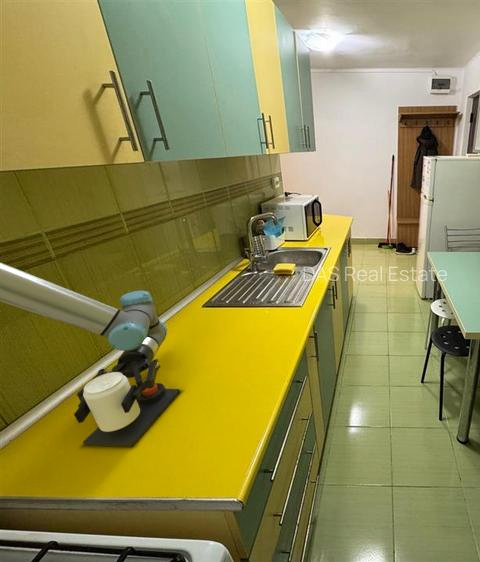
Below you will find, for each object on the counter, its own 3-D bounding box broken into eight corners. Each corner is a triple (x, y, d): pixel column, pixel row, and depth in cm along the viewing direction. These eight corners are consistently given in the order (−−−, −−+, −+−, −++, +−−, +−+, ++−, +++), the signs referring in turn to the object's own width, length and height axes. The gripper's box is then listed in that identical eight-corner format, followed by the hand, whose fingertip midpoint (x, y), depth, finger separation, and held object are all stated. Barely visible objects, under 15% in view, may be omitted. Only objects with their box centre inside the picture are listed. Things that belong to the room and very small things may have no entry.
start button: (152, 396, 83) (150, 391, 83) (139, 396, 83) (137, 391, 83) (161, 387, 87) (159, 382, 86) (149, 387, 87) (147, 382, 86)
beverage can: (132, 403, 81) (116, 366, 76) (147, 415, 77) (131, 377, 72) (94, 424, 74) (74, 386, 70) (108, 439, 71) (89, 399, 66)
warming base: (132, 446, 72) (128, 437, 71) (84, 445, 73) (79, 436, 71) (181, 391, 89) (178, 383, 88) (141, 390, 89) (138, 382, 88)
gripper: (182, 358, 93) (159, 413, 73) (100, 373, 87) (51, 438, 67) (175, 337, 90) (150, 389, 70) (90, 352, 84) (36, 412, 64)
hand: (102, 413), depth 69 cm, fingers closed on beverage can, 8 cm apart
